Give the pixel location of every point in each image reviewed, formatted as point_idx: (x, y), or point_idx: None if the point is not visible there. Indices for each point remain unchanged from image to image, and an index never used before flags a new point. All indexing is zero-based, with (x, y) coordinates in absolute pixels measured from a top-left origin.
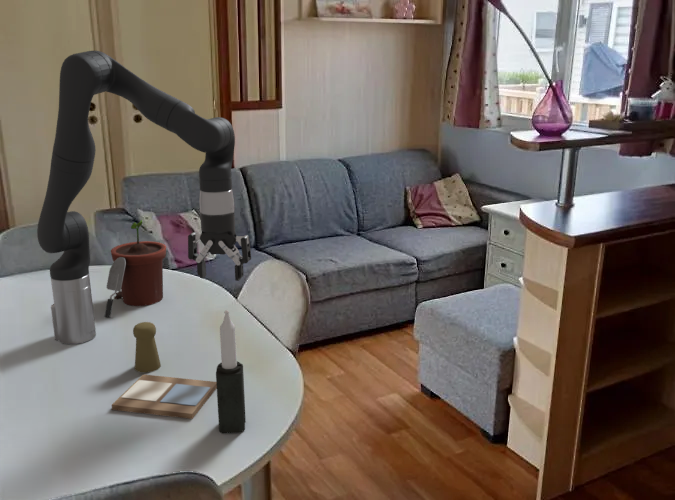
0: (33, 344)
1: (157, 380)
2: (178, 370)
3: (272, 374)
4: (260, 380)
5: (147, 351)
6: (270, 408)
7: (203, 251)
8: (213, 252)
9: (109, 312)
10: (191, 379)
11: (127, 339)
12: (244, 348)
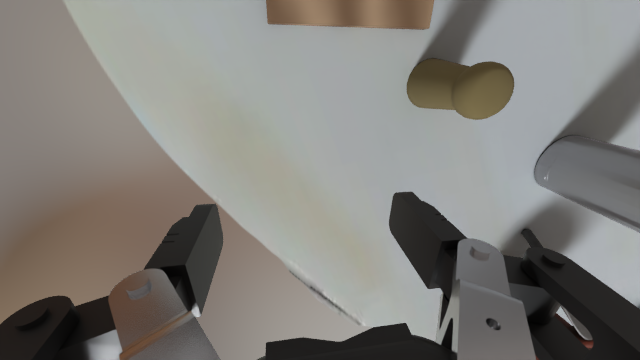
0: (622, 123)
1: (394, 4)
2: (370, 81)
3: (184, 104)
4: (195, 73)
5: (446, 68)
6: None
7: (500, 321)
8: (389, 341)
9: (528, 236)
10: (326, 23)
11: (483, 174)
12: (285, 191)
